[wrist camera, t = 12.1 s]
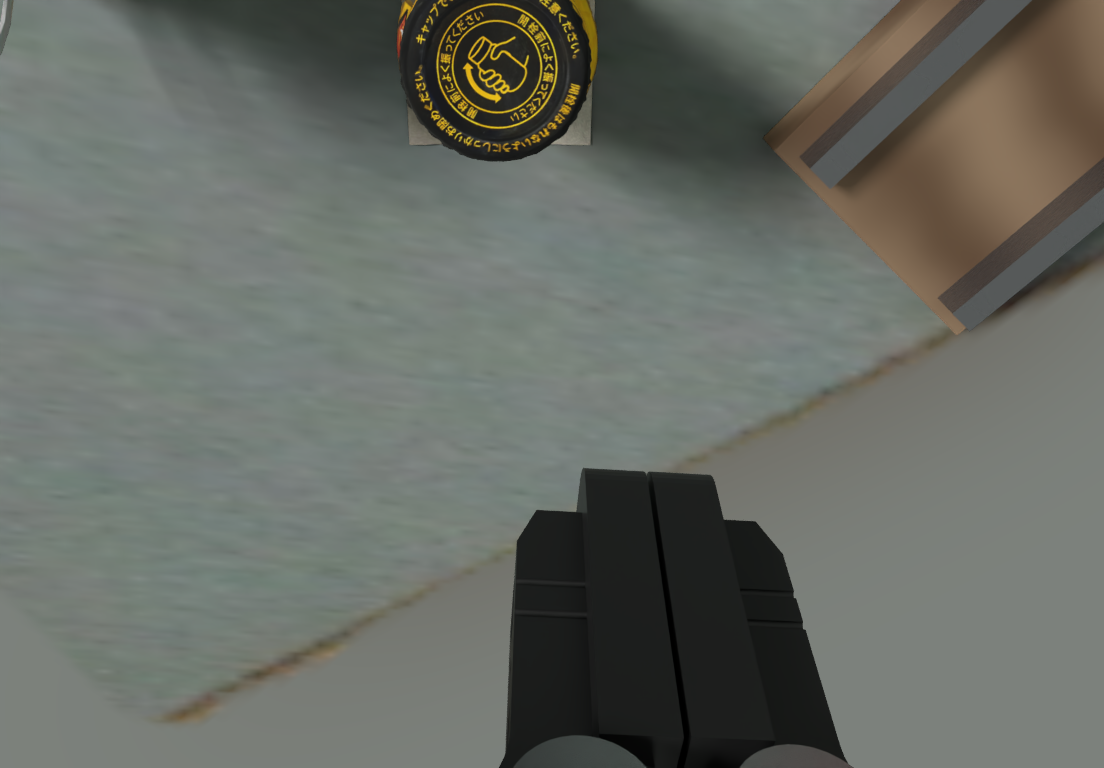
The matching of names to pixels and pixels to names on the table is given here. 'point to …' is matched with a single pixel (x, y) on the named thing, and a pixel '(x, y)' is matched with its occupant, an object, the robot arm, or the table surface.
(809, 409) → the table surface
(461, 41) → the condiment
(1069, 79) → the track board
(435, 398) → the table surface
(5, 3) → the french press
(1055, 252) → the track rails
